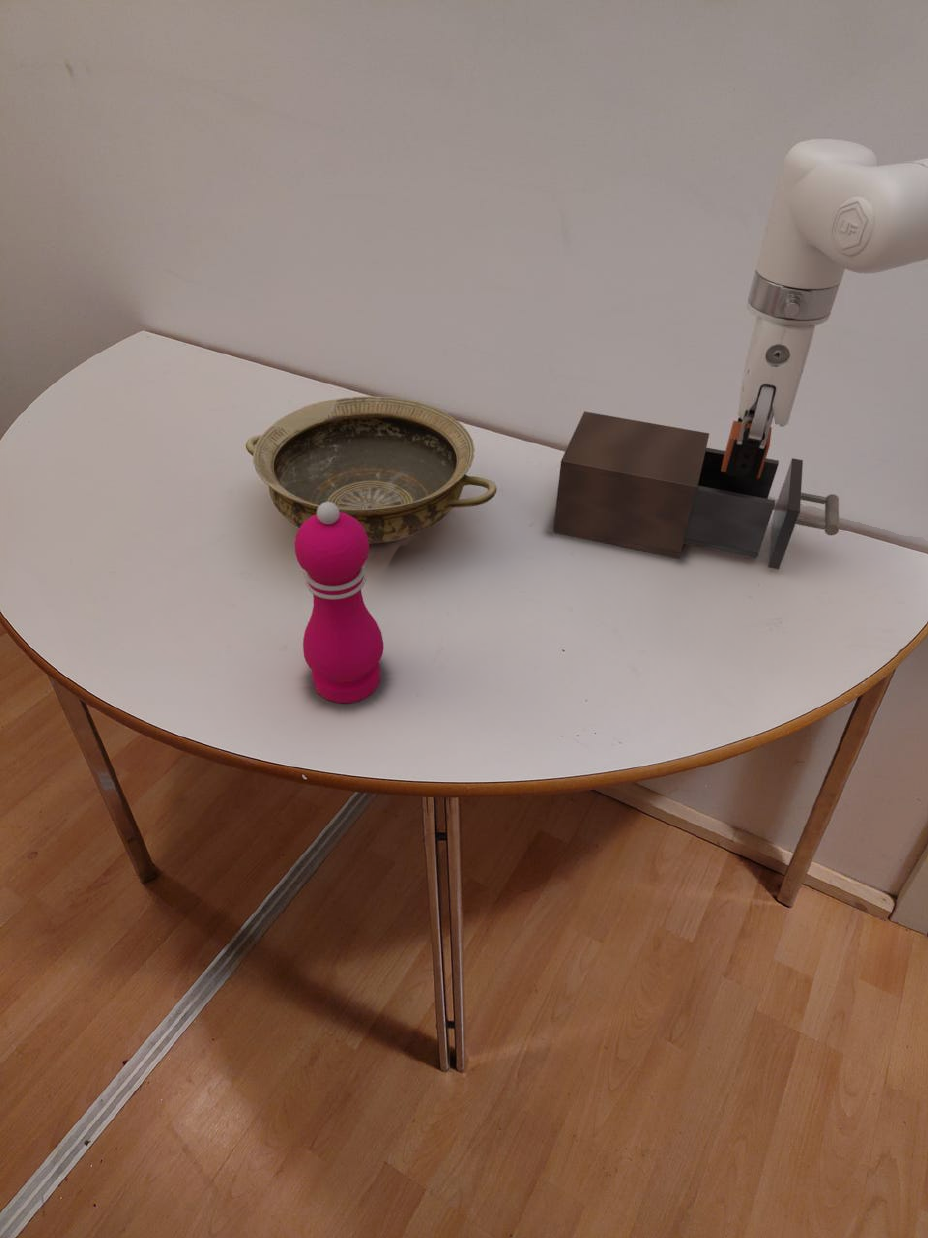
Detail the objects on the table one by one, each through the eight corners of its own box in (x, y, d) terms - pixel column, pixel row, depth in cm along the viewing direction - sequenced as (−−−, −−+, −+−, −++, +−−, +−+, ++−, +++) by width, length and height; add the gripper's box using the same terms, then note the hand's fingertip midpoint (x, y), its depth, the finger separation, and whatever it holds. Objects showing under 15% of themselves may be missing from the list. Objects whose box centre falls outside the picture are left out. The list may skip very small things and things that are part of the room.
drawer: (824, 525, 95) (847, 467, 90) (823, 579, 88) (848, 520, 83) (668, 494, 100) (681, 437, 94) (655, 544, 92) (668, 485, 87)
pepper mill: (348, 720, 74) (328, 544, 60) (292, 683, 77) (260, 508, 63) (401, 674, 78) (392, 499, 64) (345, 641, 81) (326, 468, 67)
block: (761, 459, 89) (771, 426, 87) (759, 478, 87) (769, 445, 84) (724, 452, 90) (733, 420, 88) (721, 471, 87) (730, 438, 85)
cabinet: (692, 503, 100) (709, 433, 93) (679, 559, 92) (697, 486, 85) (575, 480, 103) (584, 410, 97) (552, 532, 95) (560, 460, 88)
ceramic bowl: (523, 495, 100) (529, 422, 94) (451, 617, 84) (452, 539, 77) (306, 445, 108) (297, 374, 101) (201, 548, 91) (182, 472, 85)
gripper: (834, 337, 69) (774, 514, 82) (834, 269, 81) (782, 433, 93) (743, 323, 71) (698, 499, 83) (756, 259, 83) (715, 421, 95)
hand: (742, 463), depth 88 cm, fingers closed on block, 4 cm apart
